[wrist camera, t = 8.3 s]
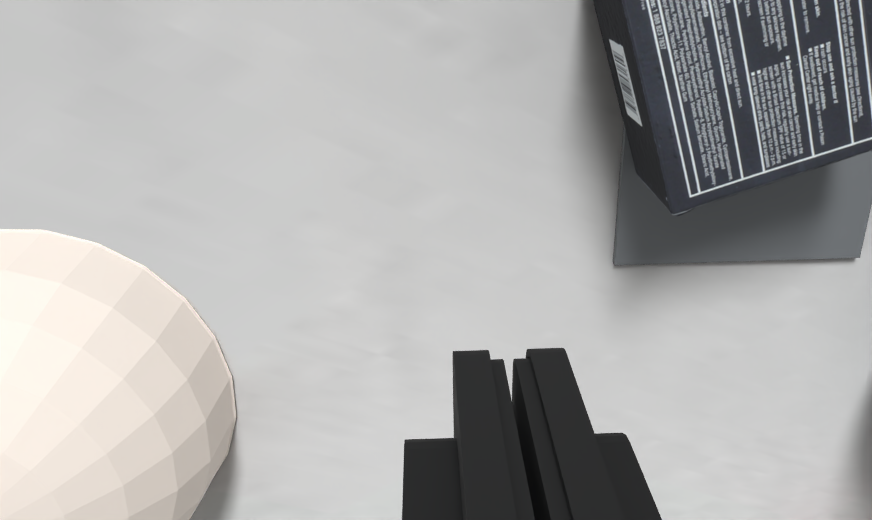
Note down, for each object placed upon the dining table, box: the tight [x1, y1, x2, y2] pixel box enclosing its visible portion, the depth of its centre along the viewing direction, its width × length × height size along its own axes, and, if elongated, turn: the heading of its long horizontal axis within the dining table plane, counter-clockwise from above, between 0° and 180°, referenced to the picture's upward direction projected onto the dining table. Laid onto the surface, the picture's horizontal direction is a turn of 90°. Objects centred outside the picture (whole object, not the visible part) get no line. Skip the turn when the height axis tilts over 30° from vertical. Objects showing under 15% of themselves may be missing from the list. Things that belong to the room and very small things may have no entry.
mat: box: [613, 125, 872, 265], centre depth 36 cm, size 13×18×1 cm
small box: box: [594, 0, 872, 216], centre depth 32 cm, size 11×6×10 cm
